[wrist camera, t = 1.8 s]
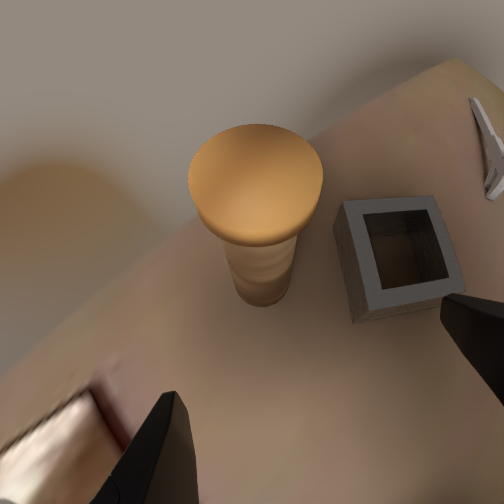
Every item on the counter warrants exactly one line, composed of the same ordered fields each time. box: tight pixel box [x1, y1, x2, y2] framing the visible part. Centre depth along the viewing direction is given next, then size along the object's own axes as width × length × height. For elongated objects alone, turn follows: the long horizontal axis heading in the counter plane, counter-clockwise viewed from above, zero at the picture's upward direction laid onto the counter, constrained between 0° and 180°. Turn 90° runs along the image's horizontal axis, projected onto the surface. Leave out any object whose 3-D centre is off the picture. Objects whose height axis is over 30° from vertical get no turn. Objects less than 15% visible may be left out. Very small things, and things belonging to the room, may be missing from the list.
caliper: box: [469, 97, 504, 201], centre depth 27 cm, size 20×1×6 cm, turn 158°
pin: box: [188, 124, 323, 307], centre depth 18 cm, size 5×5×13 cm
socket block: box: [333, 196, 466, 324], centre depth 22 cm, size 8×8×4 cm
